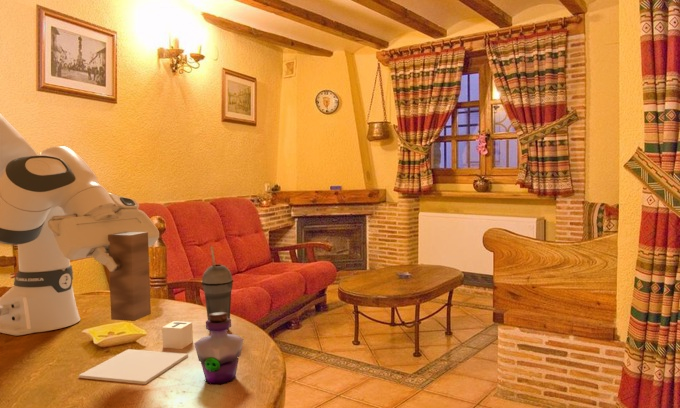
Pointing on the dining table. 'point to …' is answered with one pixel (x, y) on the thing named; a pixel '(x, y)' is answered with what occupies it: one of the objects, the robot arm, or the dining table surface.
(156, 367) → the white square plate
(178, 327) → the letter cube
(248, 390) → the dining table surface
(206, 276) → the beverage cup
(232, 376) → the potion bottle
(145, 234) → the walnut block
